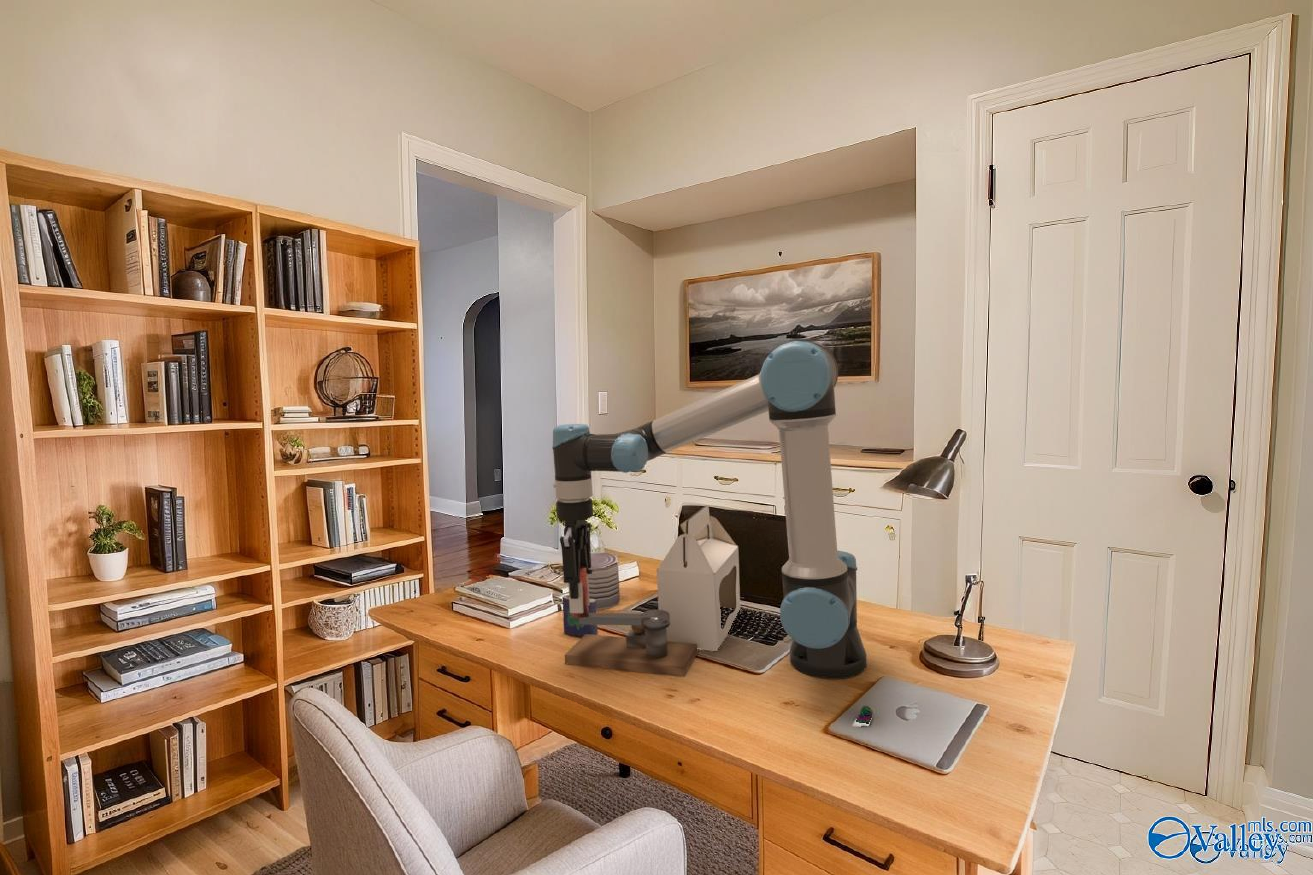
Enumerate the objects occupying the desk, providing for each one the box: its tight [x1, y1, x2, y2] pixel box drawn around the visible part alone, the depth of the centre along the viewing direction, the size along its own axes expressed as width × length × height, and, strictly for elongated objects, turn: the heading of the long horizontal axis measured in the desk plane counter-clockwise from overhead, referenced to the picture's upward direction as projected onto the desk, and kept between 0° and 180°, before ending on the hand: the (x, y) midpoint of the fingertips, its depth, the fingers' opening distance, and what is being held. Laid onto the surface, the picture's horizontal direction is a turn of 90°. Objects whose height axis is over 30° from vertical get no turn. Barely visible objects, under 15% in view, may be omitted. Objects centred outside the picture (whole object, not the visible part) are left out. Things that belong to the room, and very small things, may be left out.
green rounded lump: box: [856, 705, 874, 724], centre depth 111 cm, size 4×3×2 cm, turn 150°
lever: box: [571, 566, 670, 630], centre depth 136 cm, size 21×6×12 cm, turn 81°
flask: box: [561, 594, 599, 639], centre depth 152 cm, size 9×3×11 cm, turn 61°
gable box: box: [656, 505, 741, 651], centre depth 151 cm, size 22×13×28 cm, turn 160°
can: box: [587, 551, 621, 611], centre depth 173 cm, size 11×11×12 cm
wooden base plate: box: [564, 625, 698, 677], centre depth 139 cm, size 26×11×8 cm, turn 72°
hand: (579, 608), depth 138 cm, fingers closed on lever, 4 cm apart
